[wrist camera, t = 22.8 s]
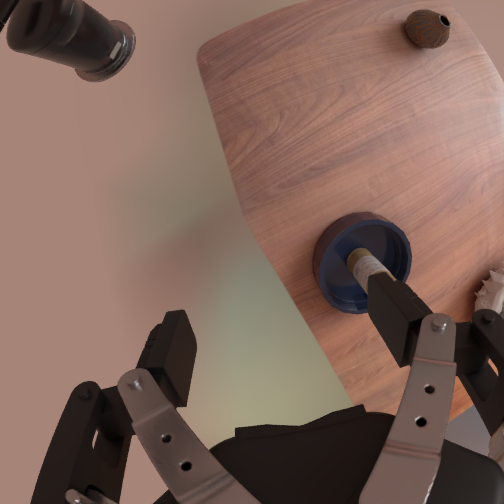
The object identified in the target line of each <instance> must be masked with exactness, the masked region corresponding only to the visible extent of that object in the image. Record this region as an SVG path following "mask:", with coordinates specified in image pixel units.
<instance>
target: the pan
mask: <svg viewBox="0 0 504 504" xmlns="http://www.w3.org/2000/svg"><path fill="white" fill-rule="evenodd" d="M357 248H365V249H367V250H368V251H369V252H370V253H371V254H372V255H373V256H374V257H375V258H376V259H377V260H378V261H379V262H380V263H381V264H382V265H383V266H384V267H385V268H386V269H387V270H388V271H389V272H390V273H391V274H392V276H393V277H394V278H395V279H396V280H399V281H401V282H403V283H405V282H406V280H407V278H408V275H409V273H410V268H411V261H412V253H411V247H410V243H409V241H408V239H407V237H406V235H405V234H404V232H403V231H402V230H401V229H400V228H398V227H397V226H396V225H395V224H393V223H392V222H390V221H389V220H387V219H386V218H384V217H382V216H380V215H377V214H374V213H370V212H360V213H352V214H350V215H348V216H345V217H343V218H340V219H339V220H338V221H336V222H335V223H334V224H333V225H332V226H330V227H329V228H328V229H327V230H326V231H325V233H324V234H323V236H322V237H321V239H320V240H319V242H318V244H317V247H316V250H315V253H314V257H313V273H314V275H315V278H316V281H317V284H318V286H319V288H320V290H321V292H322V294H323V296H324V298H325V299H326V300H327V301H328V302H329V303H330V305H331V306H332V307H334V308H336V309H338V310H340V311H342V312H344V313H351V314H363V313H368V308H367V297H368V295H367V293H366V292H365V291H364V289H363V288H362V287H361V285H360V284H359V282H358V281H357V280H356V278H355V277H354V275H353V273H352V272H350V270H349V269H348V267H347V258H348V256H349V254H350V253H351V252H352V251H353V250H355V249H357Z"/></svg>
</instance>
